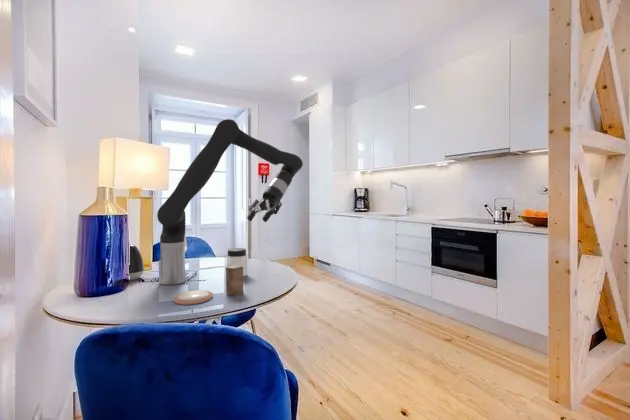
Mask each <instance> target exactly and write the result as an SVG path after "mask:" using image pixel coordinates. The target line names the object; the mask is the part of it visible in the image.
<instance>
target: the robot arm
mask: <svg viewBox="0 0 630 420" xmlns="http://www.w3.org/2000/svg"><path fill="white" fill-rule="evenodd" d="M231 144H232V145H234V146H237V147H240V148H241V149H244V150H246V151H248V152H249V153H252V154H253V155H255V156H257V157H259V158H260V159H263V160H264V161H266V162H268V163H270V164H272V165H273V166H277V165H282V166H281V168H280V170H279V172H278V173H277V174H276V175H275V177H274V178H273V179H272V181H271V182H270V183H269V185H268V186H267V187H266V188H265V190H264V192H263V194H262V198H261V199H260V200H258V199H257V198H256V199H255V200H254V201H253V202H252V203H251V205H250V206H249V208H248V211H249V213H248V215H247V217H246V219H247V220H248V221H249V222H252V221H253V219H254V218H255V216H256V215H257V214H258V213H262V212H263V211H266V212H265V213H264V215H263V216H262V218H261V219H262V221H263V222H264V223H267V222H268V221H269V220H270V218H271V216H273V215H277V214H278V213H279V210H280V209H281V207H282V205H283V204H282V201H281V200H282V198H283V196H284V195H285V194H286V192H287V190H288V188H289V186H290V185H291V184H292V181H293V178H294V176H295V175H296V174H297V173H298V172H299V171H300V170H301V169H302V167H303V165H304V164H303V163H304V162H303V160H302V158H301V157H300V156H298V155H297V154H294V153H291V152H288V151H283V150H280V149H279V148H277V147H275V146H274V145H271V144H269V143H267V142H265V141H262V140H261V139H257V138H255V137H253V136H251V135H249V134H248V133H246V132H244V131H243V130H242V129H240V128H239V125H238V123H237V122H236V121H235V120H234V119H231V118H225V119H222V120H220V121H219V122H218V123H217V124H216V127H215V129H214V130H213V133H212V134H211V137H210V138H209V140H208V142H207V143H206V145H205V146H204V147H203V148H202V150H200V152H199V153H198V154H197V156H195V158H194V159H193V161H192V162H191V164H190V165H189V166H188V168H187V169H186V171H185V172H184V174H183V175H182V176H181V179H180V181H179V182H178V183H177V186H176V188H175V189H174V190H173V191H172V192H171V194H170V196H168V198H167V199H166V200H165V201H164V203H163V204H162V205H160V206H159V207H160V208H158V211H157V214H156V218H157V221H158V223H160V225H162V231H161V233H160V236H159V242H160V244H159V245H160V259H159V260H158V284H161V285H165V286H173V285H179V284H183V283H185V282H186V275H185V272H186V261H185V260H186V257H185V254H186V252H185V248H184V236H186V211H185V209H186V208H187V206H189V205H188V204H189V203H190V202H191V200H192V199H193V198H195V196H196V195H197V194H198V193H199V192H200V191H201V190H202V189H203V188H204V187H205V186H206V184H207V183H209V182H208V181H209V180H210V178H211V177H212V175H213V174H214V173H215V171H216V169H217V166H218V164H219V163H220V160H221V158H222V157H223V155H224V154H225V152H226V150H228V148H229V147H230V146H231Z"/></svg>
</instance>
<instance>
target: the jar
mask: <svg viewBox="0 0 630 420" xmlns="http://www.w3.org/2000/svg"><path fill="white" fill-rule="evenodd" d="M233 265H237V266H243V278H244V277H246V276H248V255H247V249H246V248H245V247H242V248H241V247H237V248H236V247H235V248H228V249H227V255H226V267H229V266H233Z"/></svg>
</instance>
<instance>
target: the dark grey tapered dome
mask: <svg viewBox="0 0 630 420" xmlns="http://www.w3.org/2000/svg"><path fill="white" fill-rule="evenodd" d="M129 245H130V265H129V276H130V280H129V281H134V280H137V279H139V278H141V276H142V275H143V273H144V270H145V266H144V260H143V257H142V255H141V254H142V253H141V252H140V250H139V248H138V247H137V246H136V245H134V244H129Z"/></svg>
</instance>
